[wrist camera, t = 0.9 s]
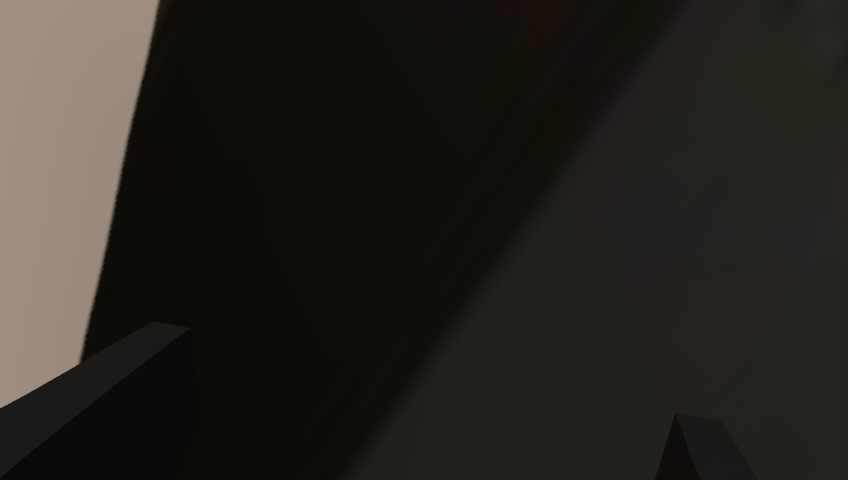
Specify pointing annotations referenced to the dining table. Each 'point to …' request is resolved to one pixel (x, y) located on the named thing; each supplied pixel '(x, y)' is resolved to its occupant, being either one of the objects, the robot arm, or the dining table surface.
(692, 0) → the dining table surface
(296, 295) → the dining table surface
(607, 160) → the dining table surface
